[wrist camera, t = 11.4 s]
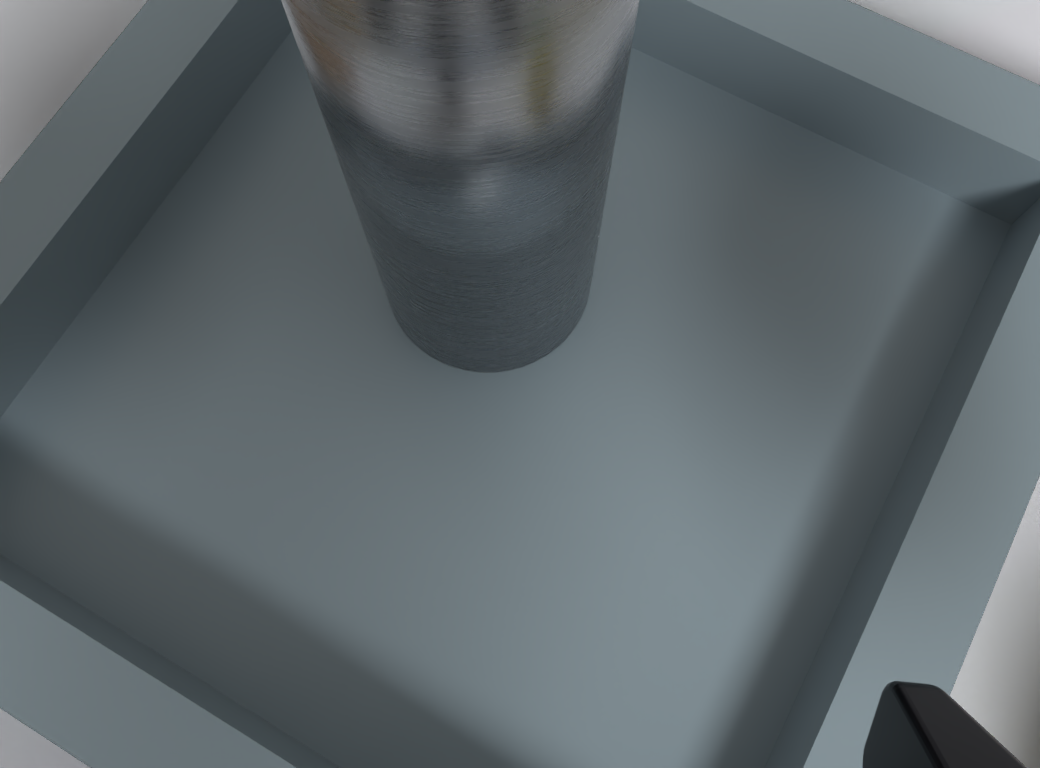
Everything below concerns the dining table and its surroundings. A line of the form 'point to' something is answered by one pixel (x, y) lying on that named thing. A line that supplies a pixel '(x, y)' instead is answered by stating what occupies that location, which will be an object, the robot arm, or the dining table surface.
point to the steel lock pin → (474, 157)
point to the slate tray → (516, 415)
